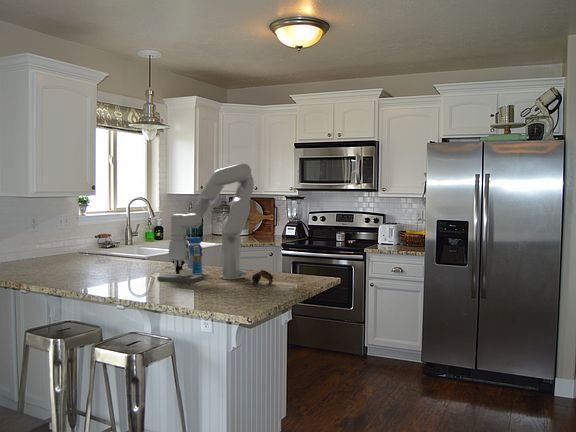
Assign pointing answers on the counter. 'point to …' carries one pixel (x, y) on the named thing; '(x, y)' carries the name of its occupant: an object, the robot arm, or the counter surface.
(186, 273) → the fader knob
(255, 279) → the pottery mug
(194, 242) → the blue lidded canister
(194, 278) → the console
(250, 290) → the counter surface
